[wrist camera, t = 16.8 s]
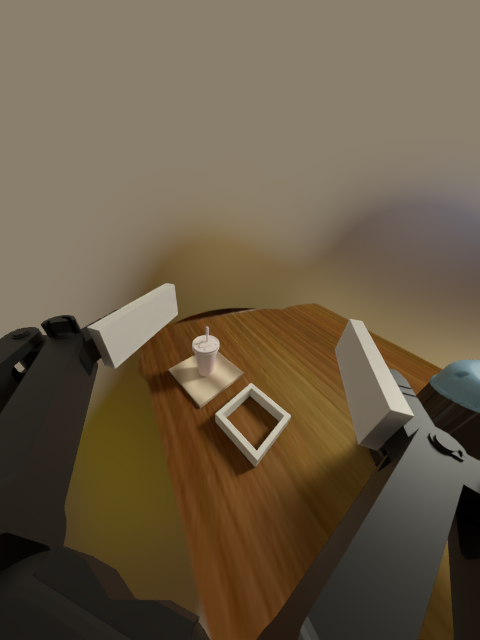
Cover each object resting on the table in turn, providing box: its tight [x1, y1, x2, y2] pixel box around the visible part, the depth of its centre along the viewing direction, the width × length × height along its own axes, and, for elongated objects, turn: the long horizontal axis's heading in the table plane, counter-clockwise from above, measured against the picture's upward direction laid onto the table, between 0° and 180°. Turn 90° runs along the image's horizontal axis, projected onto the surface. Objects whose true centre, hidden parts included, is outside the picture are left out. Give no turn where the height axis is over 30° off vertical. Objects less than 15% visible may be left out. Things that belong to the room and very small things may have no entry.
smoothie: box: [192, 326, 219, 377], centre depth 44 cm, size 6×6×14 cm
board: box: [169, 351, 244, 408], centre depth 48 cm, size 14×14×1 cm
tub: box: [215, 383, 291, 467], centre depth 38 cm, size 11×11×3 cm
